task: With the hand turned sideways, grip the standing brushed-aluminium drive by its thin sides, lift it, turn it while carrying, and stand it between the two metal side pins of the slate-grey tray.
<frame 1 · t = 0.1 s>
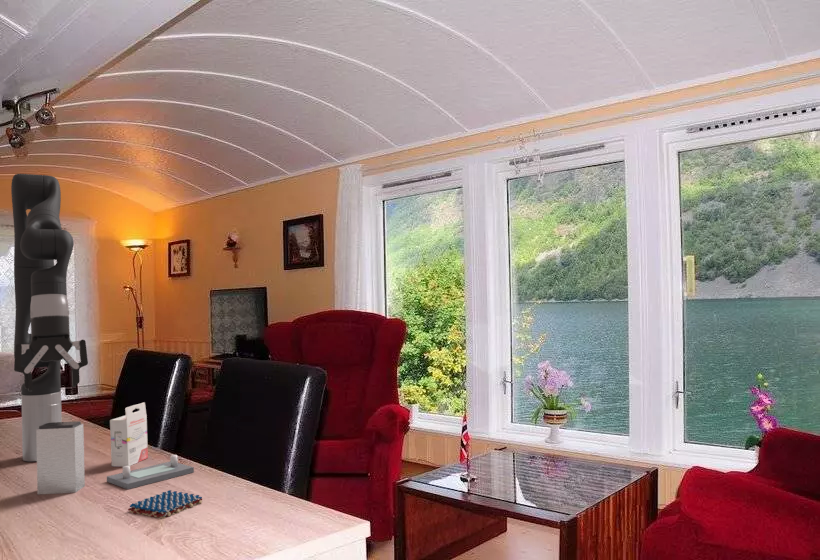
hand: (52, 388, 142), 22 cm above the table, tool pointing down, fingers open, 8 cm apart
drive: (61, 490, 141), on the table
pin tray: (151, 476, 150), on the table
ink cartridge box: (129, 463, 164), on the table
woven mat: (165, 510, 128), on the table
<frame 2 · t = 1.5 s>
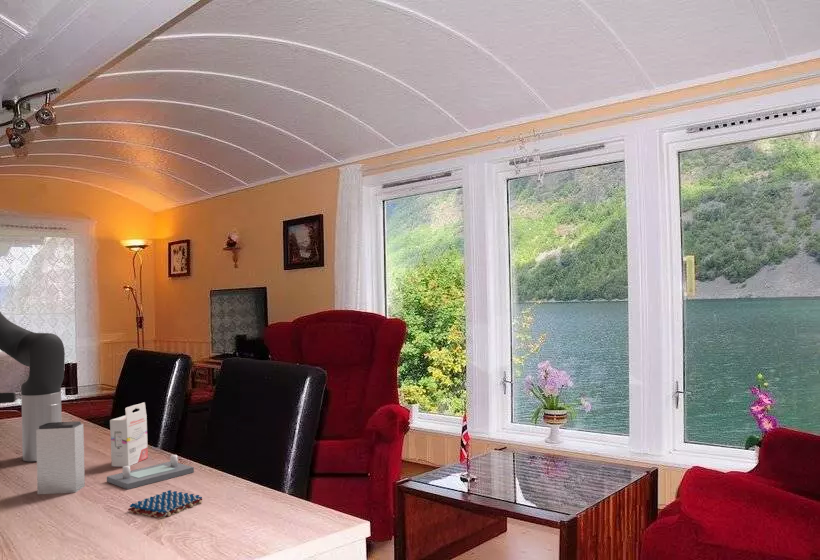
hand: (4, 400, 141), 20 cm above the table, tool horizontal, fingers open, 8 cm apart
nothing on the table moved.
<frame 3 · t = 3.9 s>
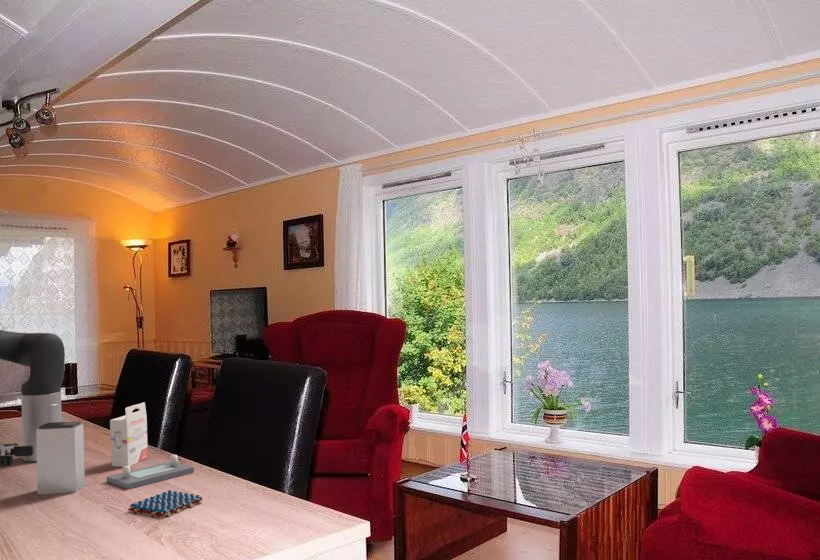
hand: (23, 455, 141), 8 cm above the table, tool horizontal, fingers open, 8 cm apart
nothing on the table moved.
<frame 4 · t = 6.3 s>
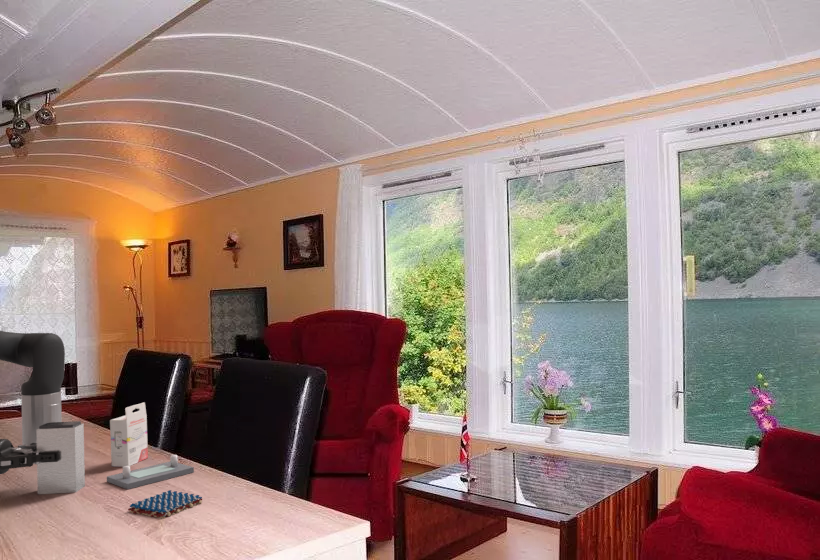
hand: (64, 453, 142), 8 cm above the table, tool horizontal, fingers closed on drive, 4 cm apart
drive: (61, 490, 142), on the table, touching gripper
everything else where it was.
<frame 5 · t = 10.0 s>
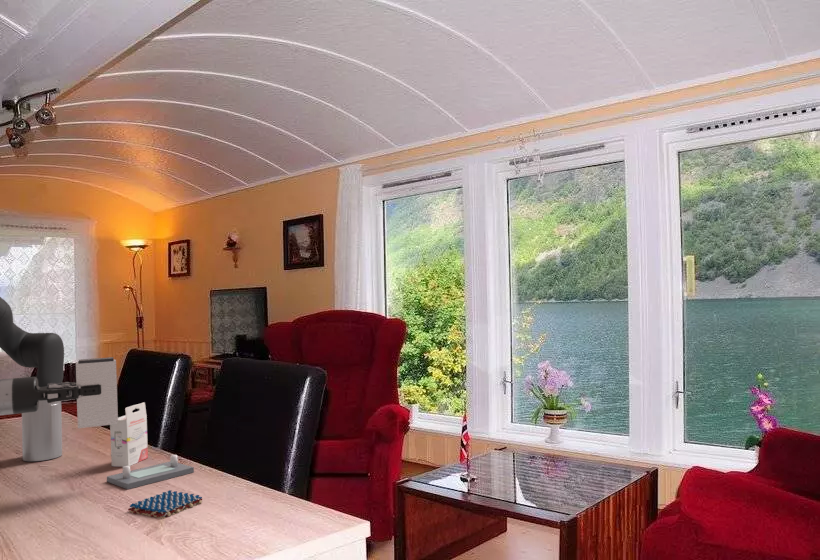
hand: (100, 388, 144), 22 cm above the table, tool horizontal, fingers closed on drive, 4 cm apart
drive: (98, 424, 144), point 14 cm above the table, touching gripper
everything else where it was.
when the fingers open (10 cm above the table, at t = 14.0 s): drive stays where it is, resting on pin tray.
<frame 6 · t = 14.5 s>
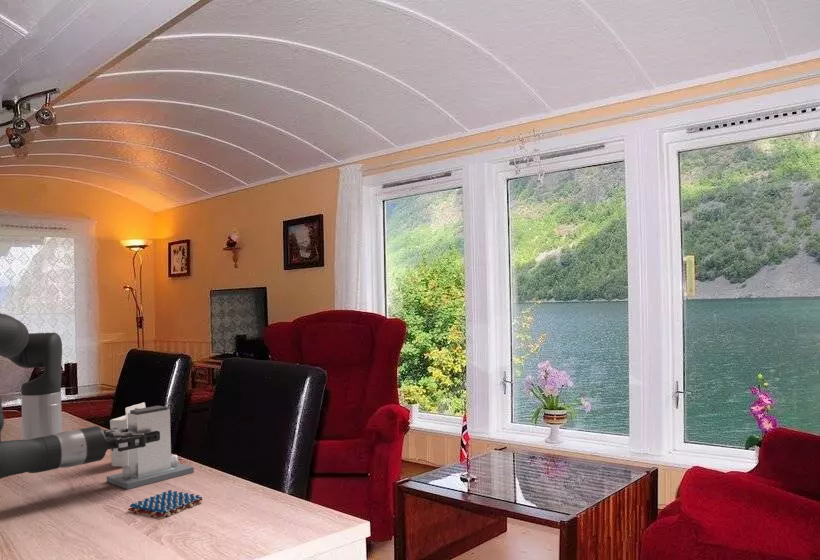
hand: (149, 433, 150), 10 cm above the table, tool horizontal, fingers open, 8 cm apart
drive: (150, 471, 150), point 1 cm above the table, touching pin tray
everything else where it was.
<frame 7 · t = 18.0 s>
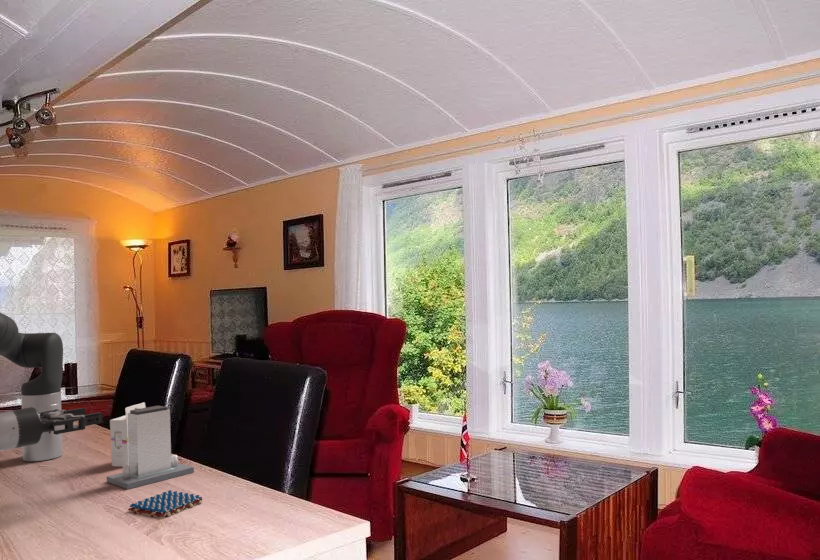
hand: (93, 414, 141), 17 cm above the table, tool horizontal, fingers open, 8 cm apart
nothing on the table moved.
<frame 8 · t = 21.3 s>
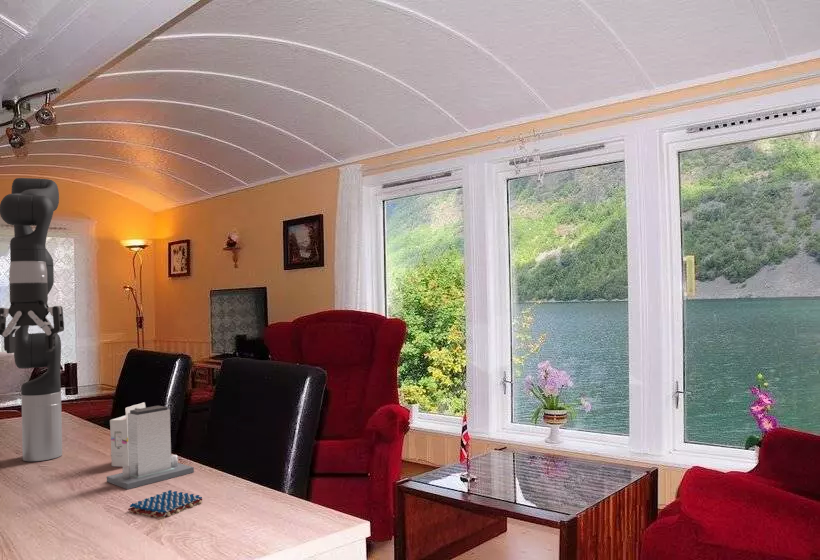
hand: (30, 352, 147), 30 cm above the table, tool pointing down, fingers open, 8 cm apart
nothing on the table moved.
at the end: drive 0.1 cm off-centre on the pin tray, point 1.3 cm above the pin tray's base; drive tilted 0°; the gripper is holding nothing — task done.
